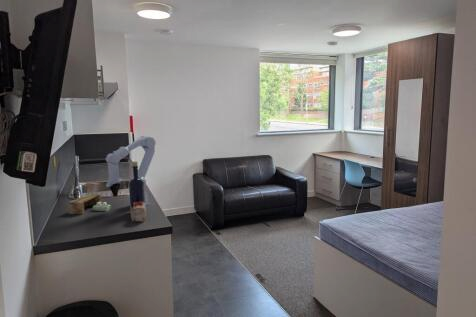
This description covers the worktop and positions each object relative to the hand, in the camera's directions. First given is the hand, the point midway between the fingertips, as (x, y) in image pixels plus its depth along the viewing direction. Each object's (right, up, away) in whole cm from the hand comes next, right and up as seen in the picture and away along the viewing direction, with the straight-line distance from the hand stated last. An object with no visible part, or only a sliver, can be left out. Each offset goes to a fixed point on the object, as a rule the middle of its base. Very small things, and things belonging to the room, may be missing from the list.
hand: (115, 196), depth 204 cm
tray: (-9, -9, +3) cm, 13 cm away
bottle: (+15, -9, -4) cm, 18 cm away
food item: (+19, -11, -16) cm, 27 cm away
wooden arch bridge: (-20, -8, +5) cm, 22 cm away
